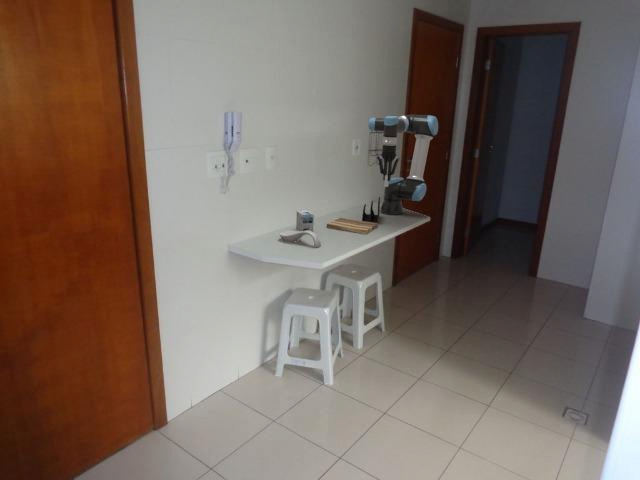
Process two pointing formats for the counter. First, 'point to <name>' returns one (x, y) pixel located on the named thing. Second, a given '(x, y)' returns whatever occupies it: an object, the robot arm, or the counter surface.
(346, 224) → the oak plank
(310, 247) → the counter surface
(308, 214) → the light bulb box
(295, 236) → the white curved piece
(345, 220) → the walnut board
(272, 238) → the counter surface
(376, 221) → the letter holder
